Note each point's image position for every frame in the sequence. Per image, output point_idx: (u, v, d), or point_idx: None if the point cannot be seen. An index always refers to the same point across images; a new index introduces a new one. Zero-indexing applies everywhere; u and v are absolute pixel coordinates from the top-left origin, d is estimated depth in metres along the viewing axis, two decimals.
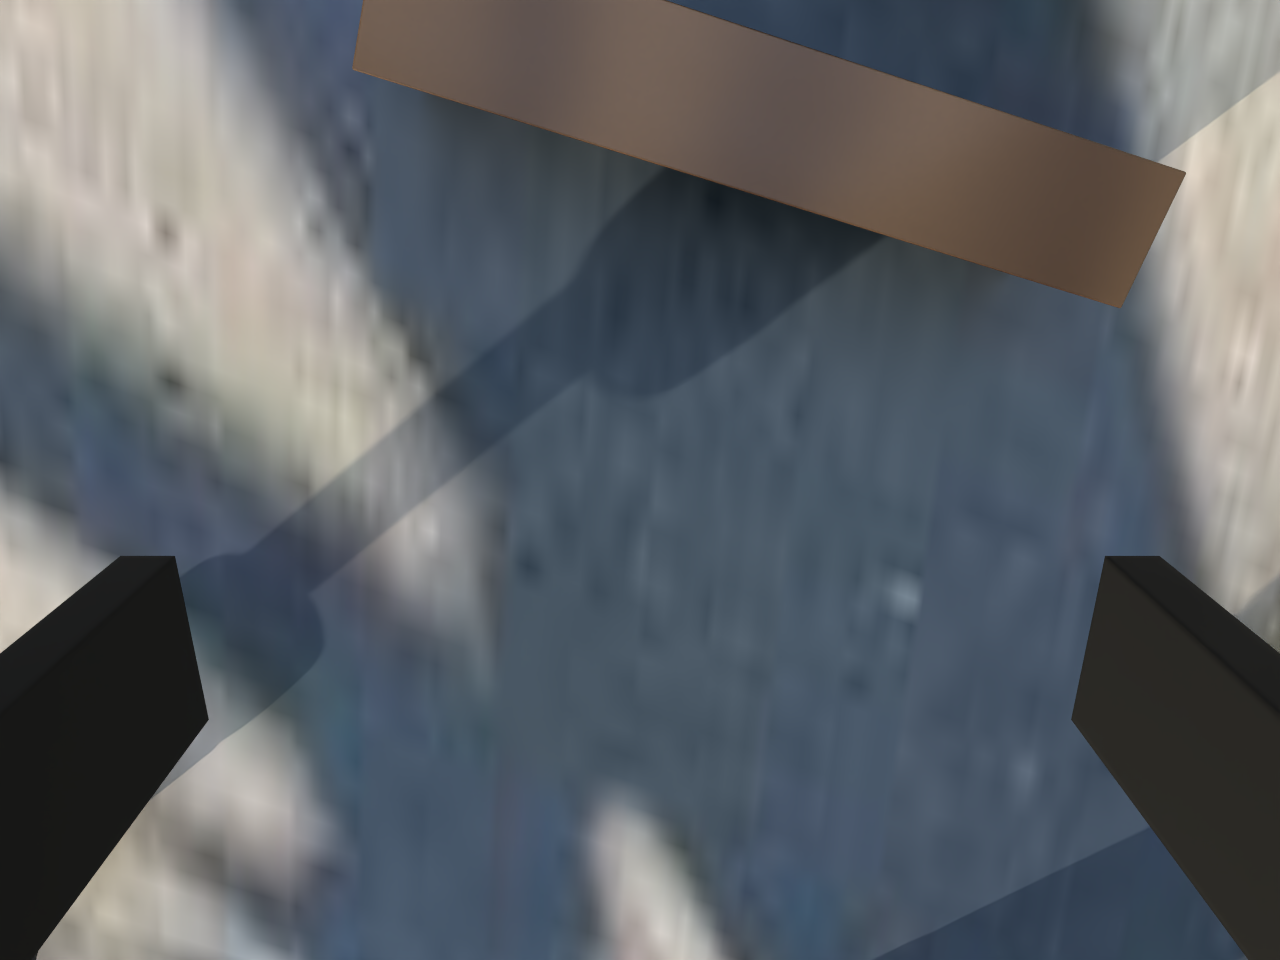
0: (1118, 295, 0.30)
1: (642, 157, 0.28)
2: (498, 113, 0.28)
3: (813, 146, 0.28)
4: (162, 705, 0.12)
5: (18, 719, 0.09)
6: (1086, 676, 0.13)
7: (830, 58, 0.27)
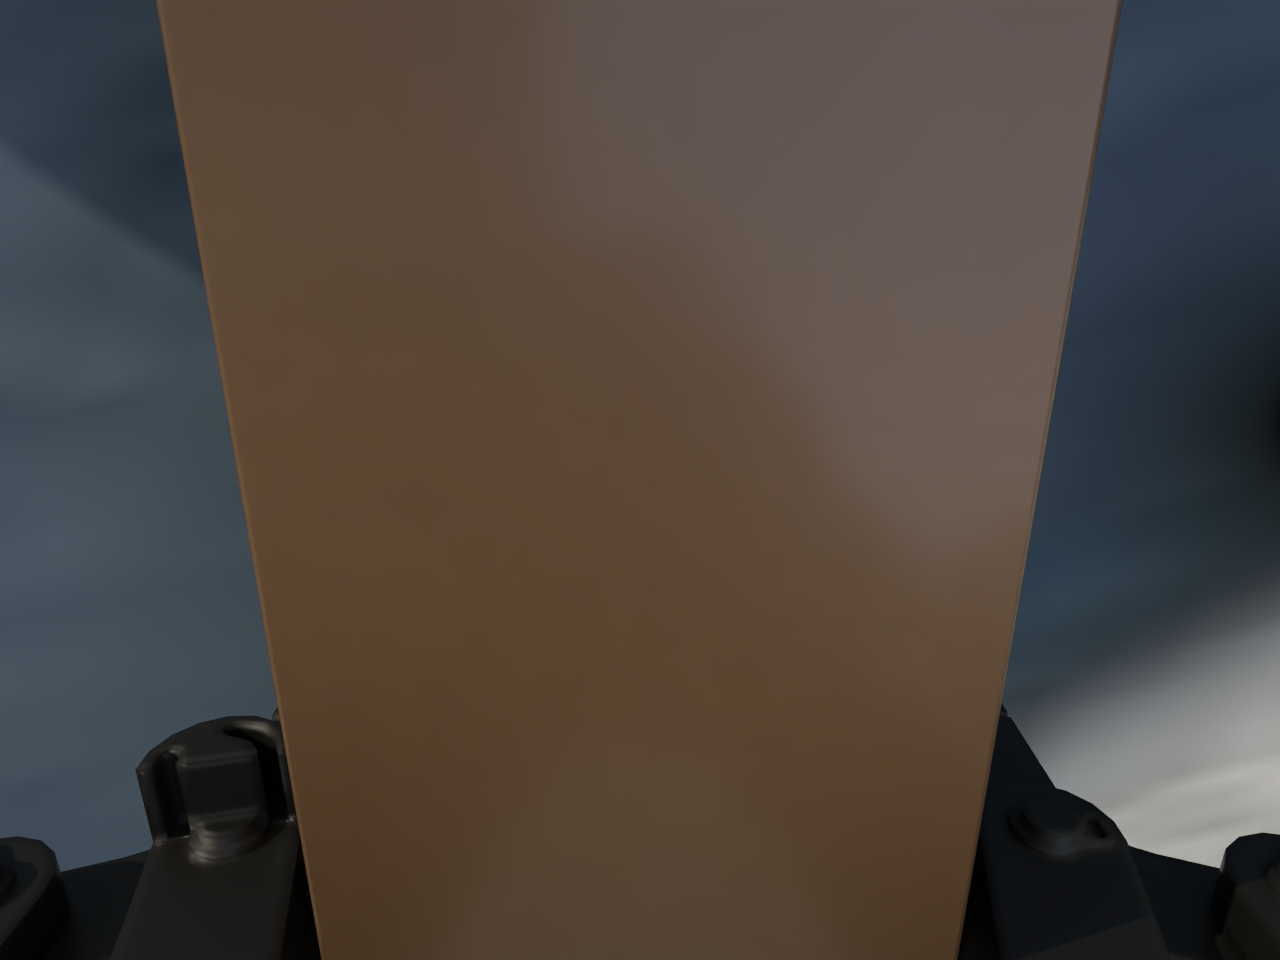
0: None
1: None
2: None
3: None
4: None
5: None
6: None
7: None
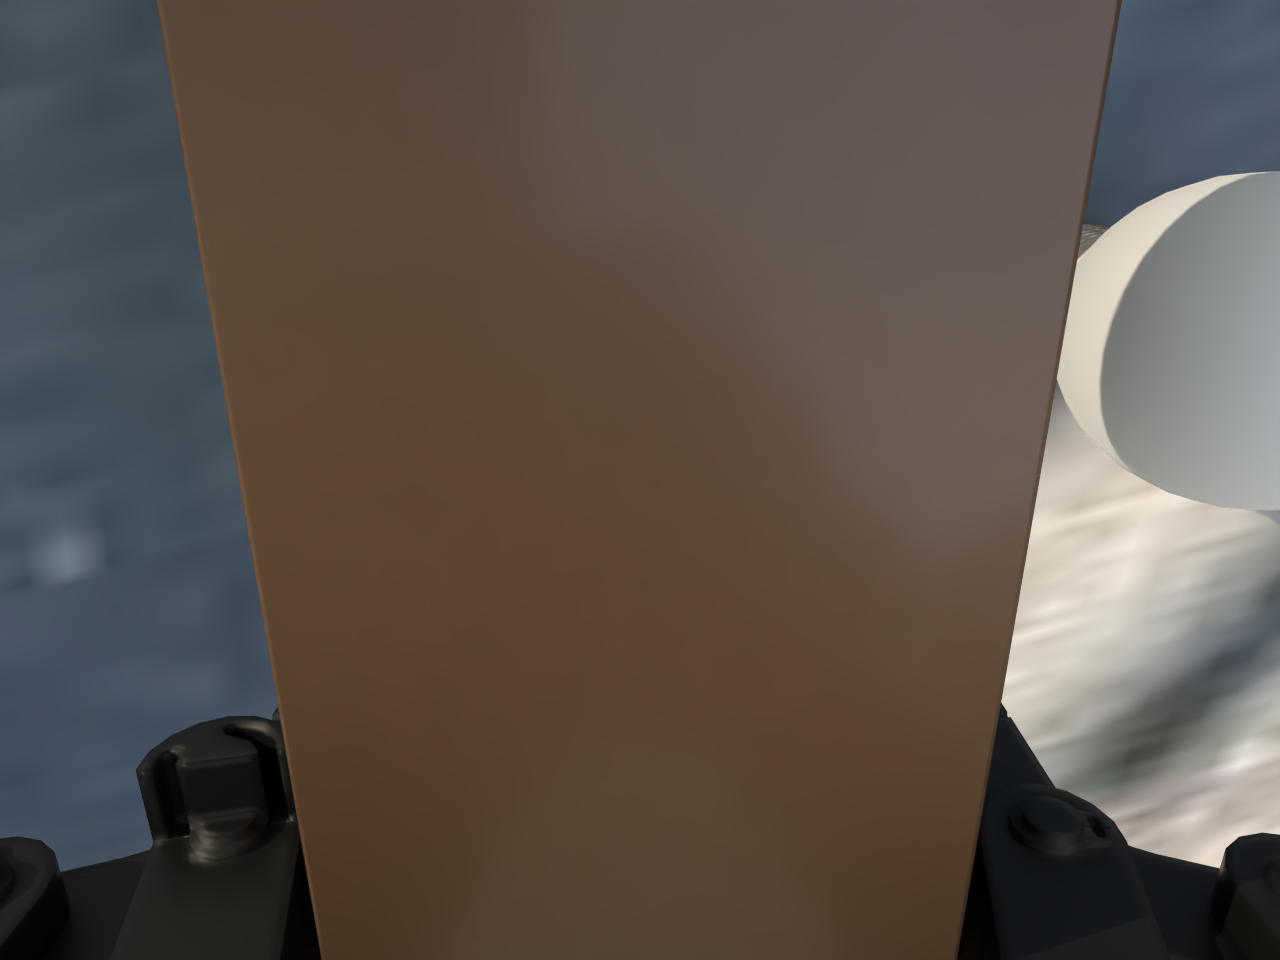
0: None
1: None
2: None
3: None
4: None
5: None
6: None
7: None
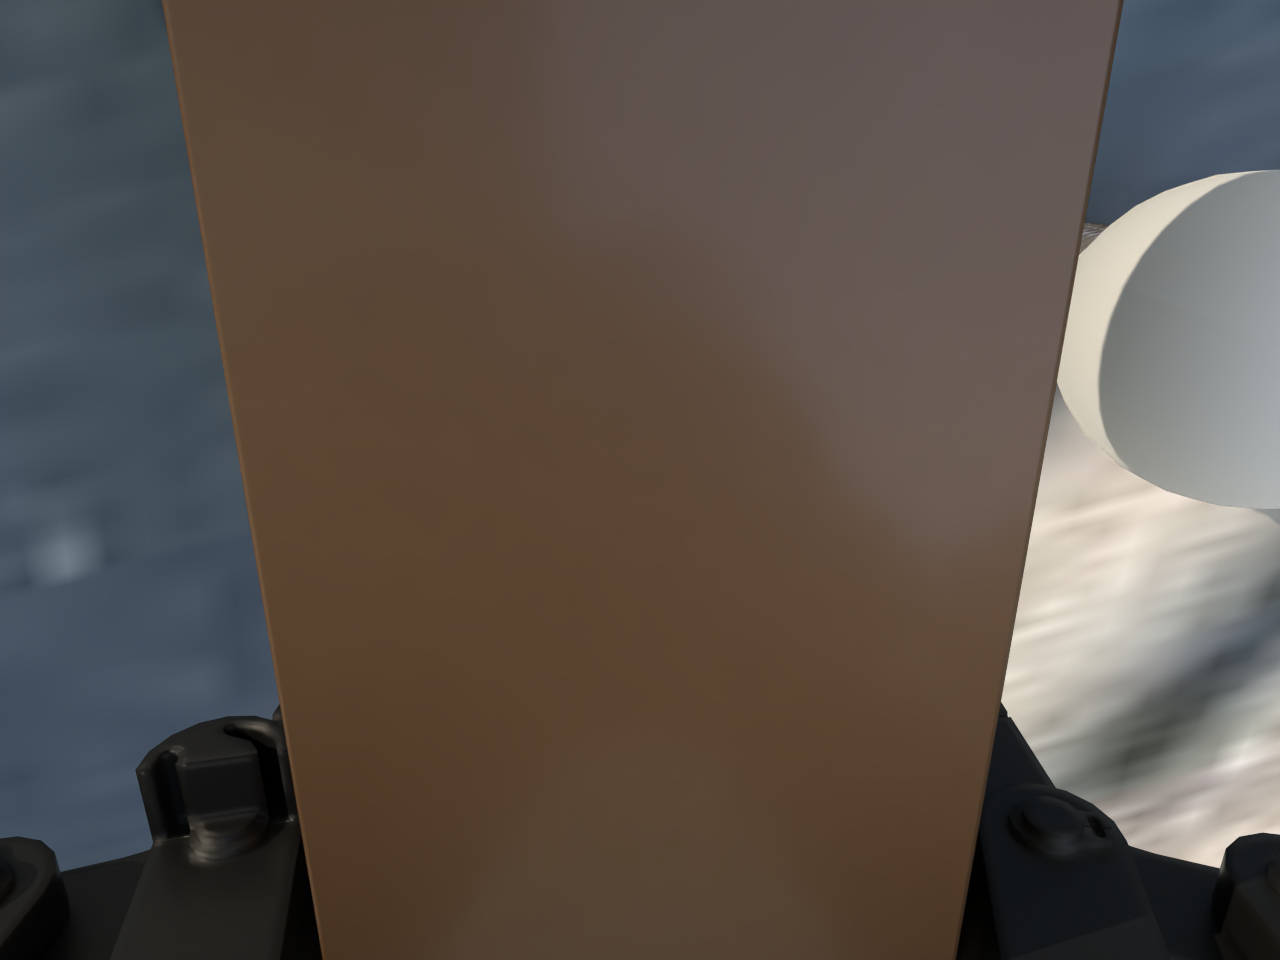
0: None
1: None
2: None
3: None
4: None
5: None
6: None
7: None
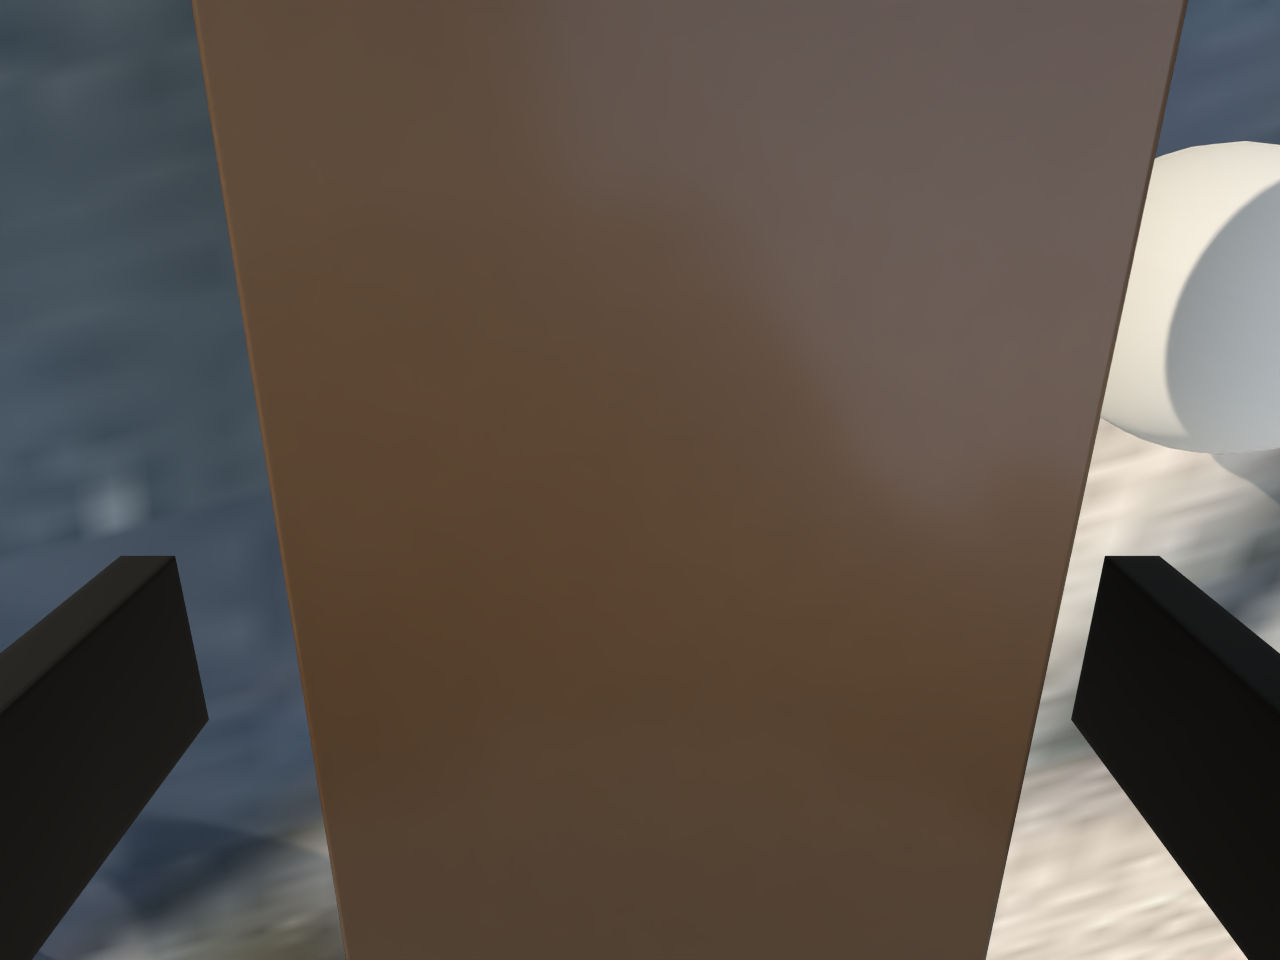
0: None
1: None
2: None
3: None
4: (162, 705, 0.12)
5: (19, 719, 0.09)
6: (1085, 676, 0.13)
7: None
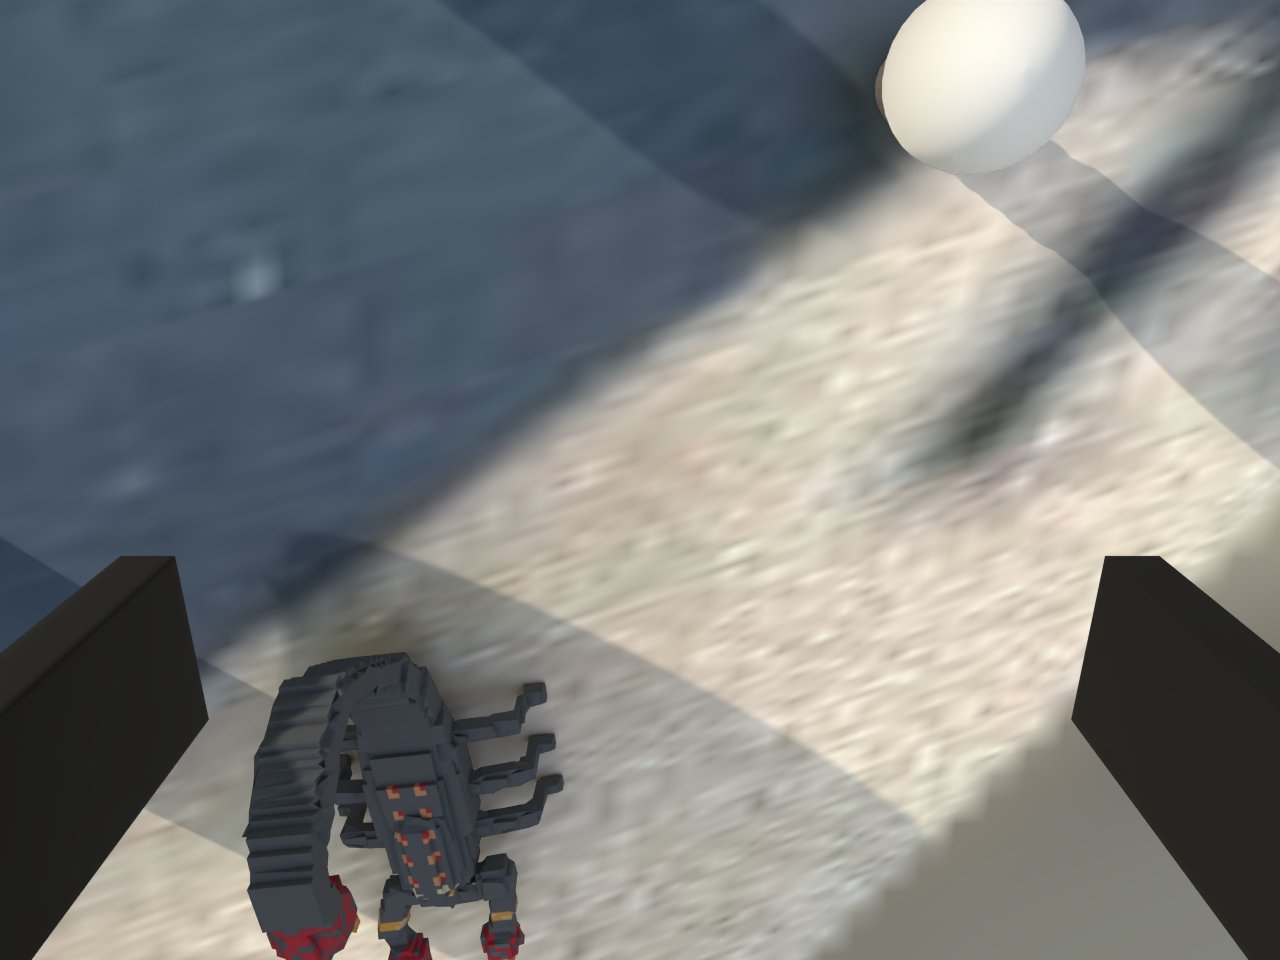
0: None
1: None
2: None
3: None
4: (162, 705, 0.12)
5: (18, 719, 0.09)
6: (1086, 676, 0.13)
7: None
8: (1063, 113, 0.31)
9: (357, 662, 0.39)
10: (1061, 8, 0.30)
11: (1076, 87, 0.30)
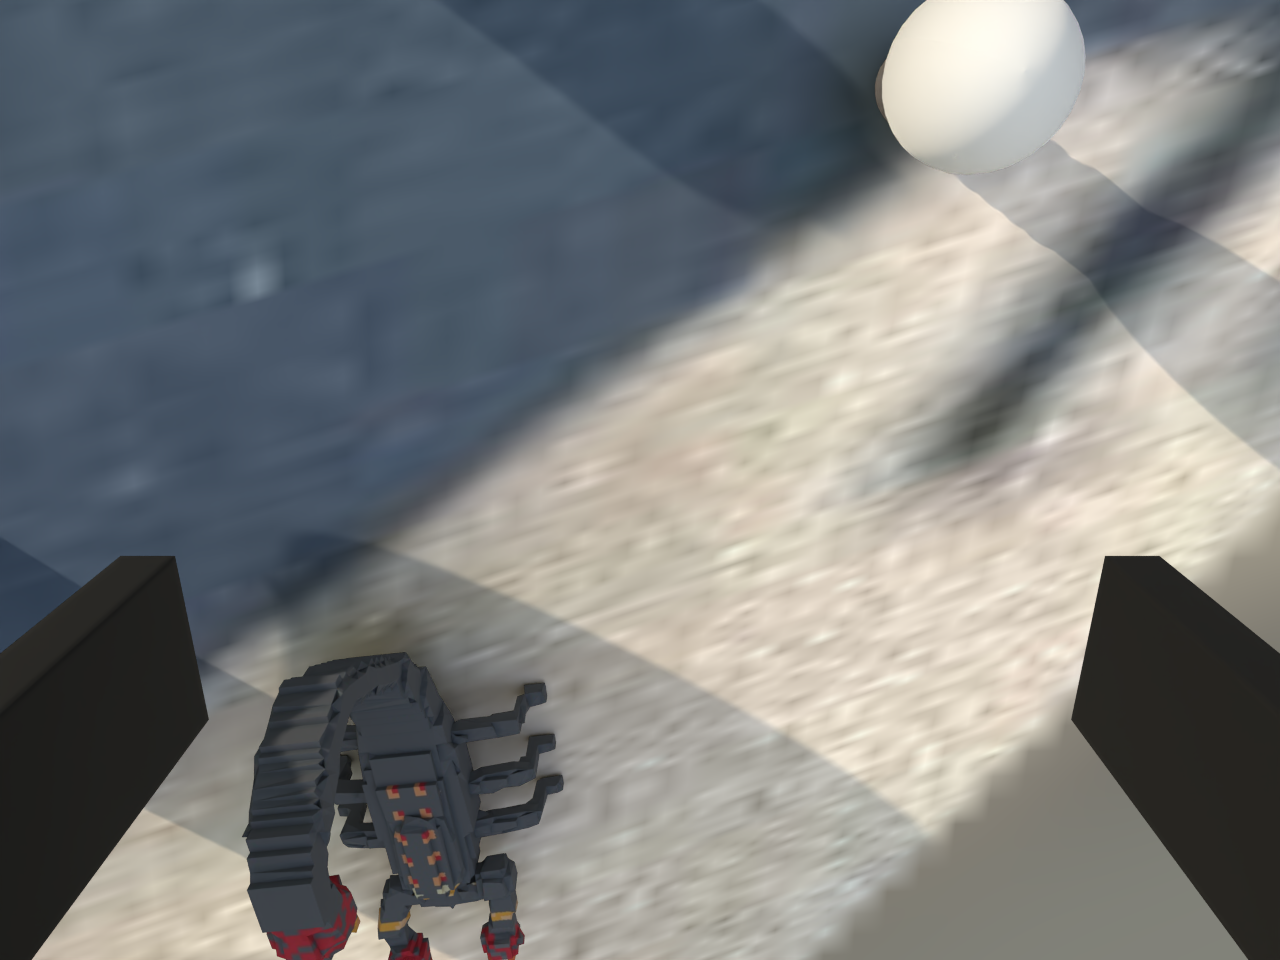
0: None
1: None
2: None
3: None
4: (162, 705, 0.12)
5: (18, 719, 0.09)
6: (1086, 676, 0.13)
7: None
8: (1063, 113, 0.31)
9: (357, 662, 0.39)
10: (1061, 8, 0.30)
11: (1076, 87, 0.30)
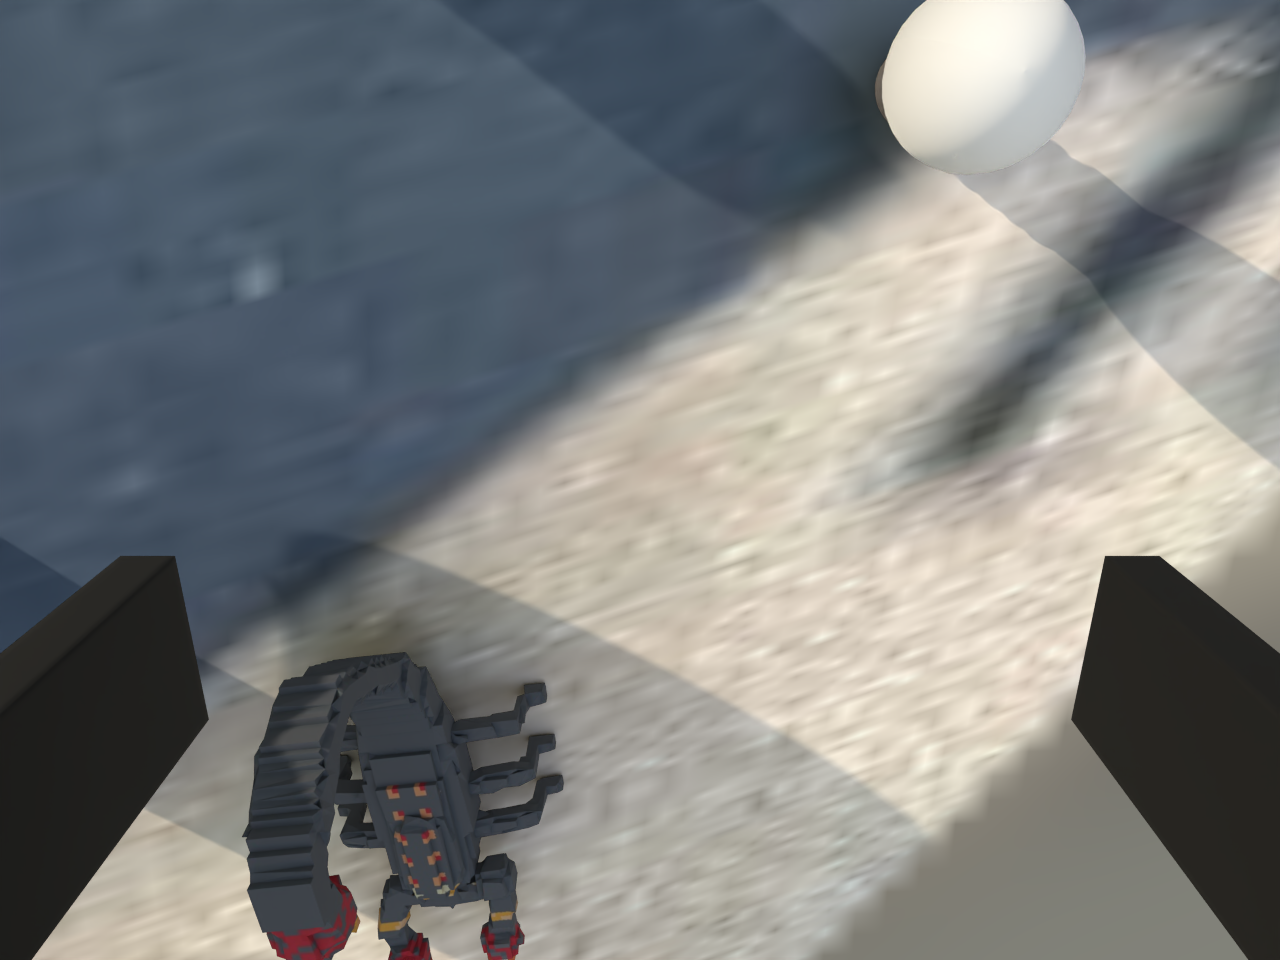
0: None
1: None
2: None
3: None
4: (162, 705, 0.12)
5: (18, 719, 0.09)
6: (1086, 676, 0.13)
7: None
8: (1063, 113, 0.31)
9: (357, 662, 0.39)
10: (1061, 8, 0.30)
11: (1076, 87, 0.30)
